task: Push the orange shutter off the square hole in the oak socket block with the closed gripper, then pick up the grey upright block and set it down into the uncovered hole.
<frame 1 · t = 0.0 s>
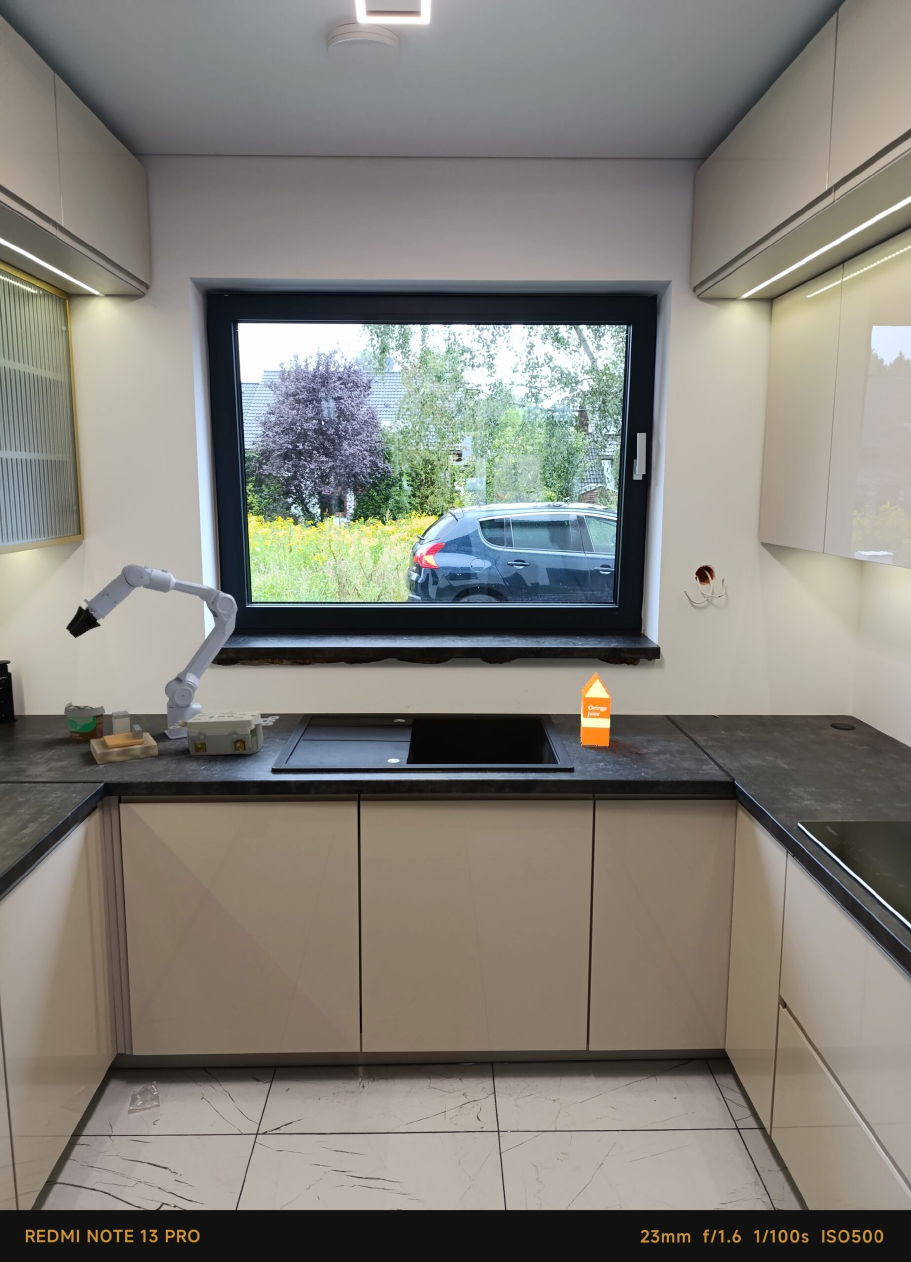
hand: (70, 633, 226), 32 cm above the worktop, fingers open, 7 cm apart
orange juice: (594, 743, 242), on the worktop
grey upright block: (122, 740, 239), on the worktop
food container: (81, 741, 238), on the worktop
socket block: (124, 752, 228), on the worktop
shutter: (123, 735, 227), point 5 cm above the worktop, slide at 0.0 cm
electrical outlet: (225, 751, 231), on the worktop
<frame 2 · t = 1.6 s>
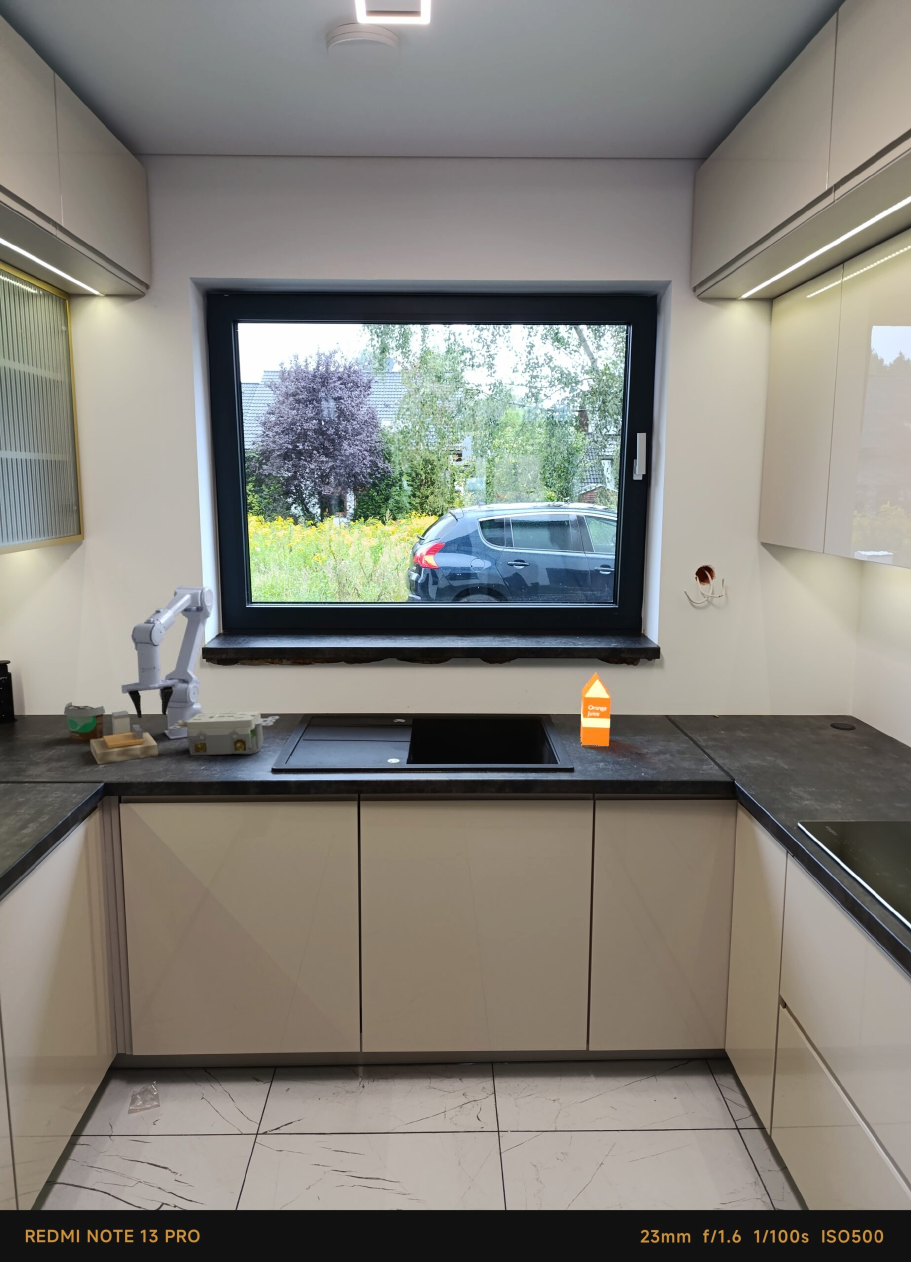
hand: (151, 715, 230), 9 cm above the worktop, fingers open, 6 cm apart
nothing on the worktop moved.
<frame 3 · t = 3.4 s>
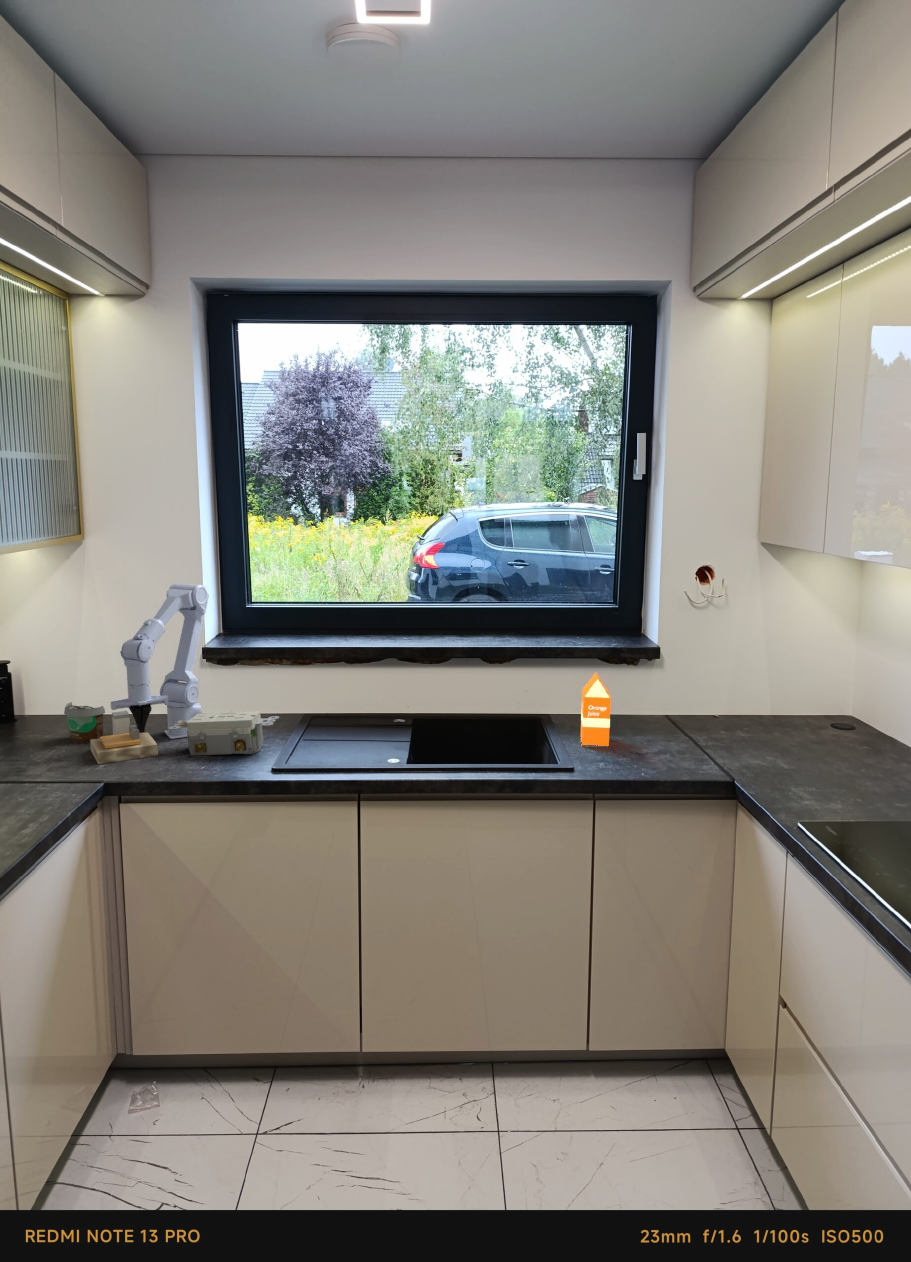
hand: (141, 731, 229), 5 cm above the worktop, fingers closed
shutter: (119, 735, 227), point 5 cm above the worktop, slide at 0.8 cm, touching gripper
everything else where it was.
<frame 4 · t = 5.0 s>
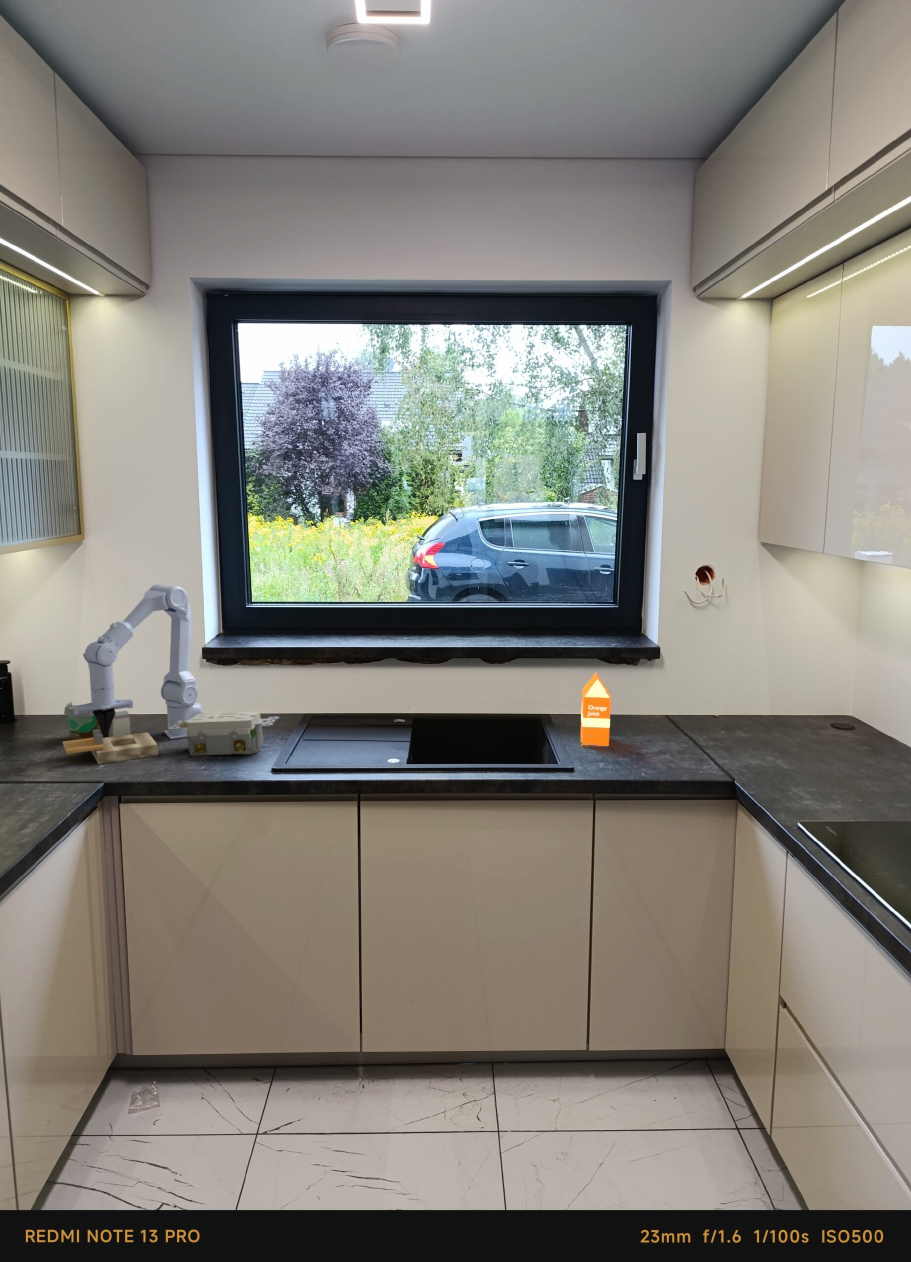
hand: (105, 736, 225), 5 cm above the worktop, fingers closed
shutter: (83, 740, 222), point 5 cm above the worktop, slide at 10.0 cm, touching gripper
everything else where it was.
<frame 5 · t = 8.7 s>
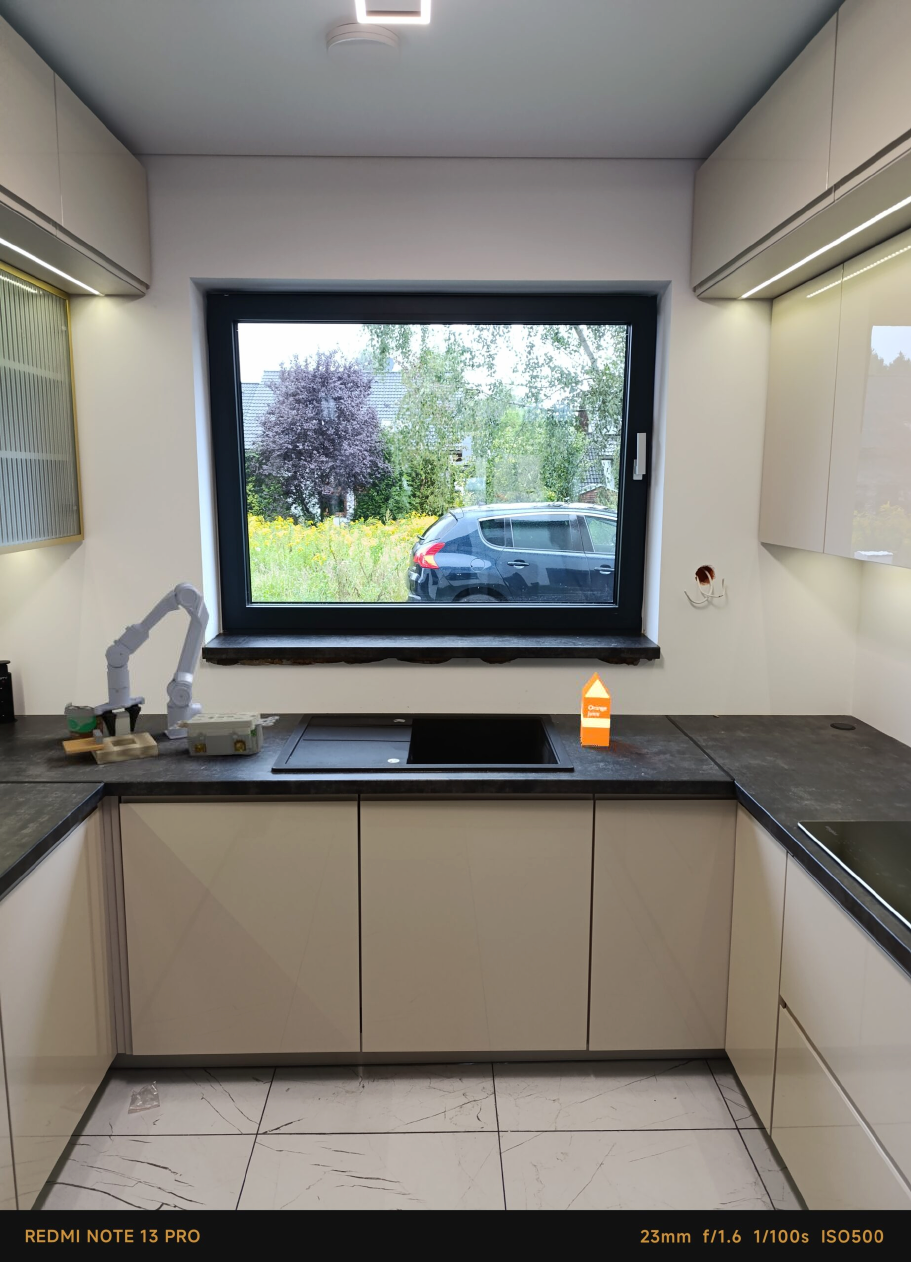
hand: (121, 733, 239), 2 cm above the worktop, fingers closed on grey upright block, 5 cm apart
grey upright block: (122, 740, 239), on the worktop, touching gripper
shutter: (83, 740, 222), point 5 cm above the worktop, slide at 10.0 cm
everything else where it was.
when the fingers open (4 cm above the worktop, at t = 12.3 s): grey upright block drops 2 cm, resting in socket block.
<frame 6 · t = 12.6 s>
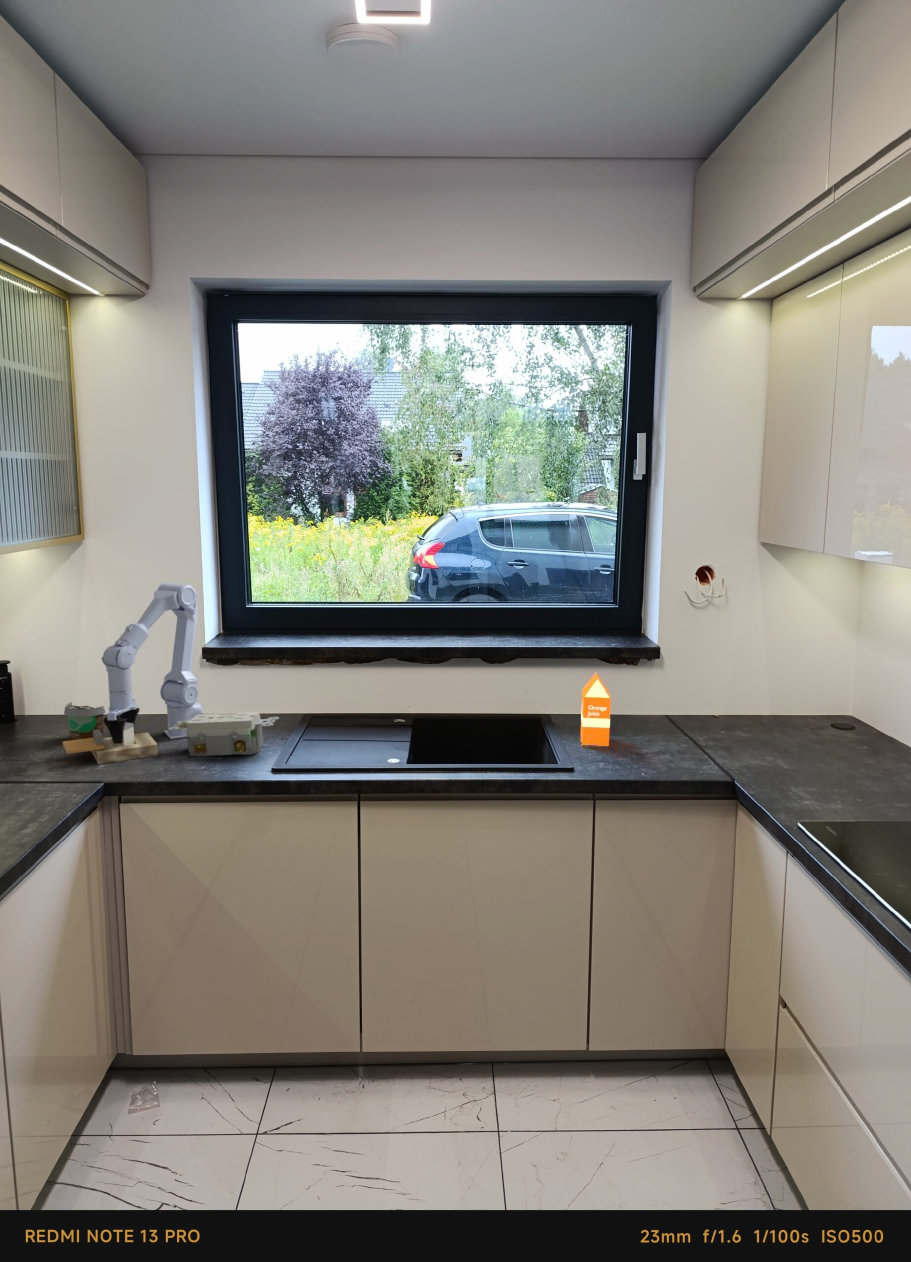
hand: (123, 739, 227), 4 cm above the worktop, fingers open, 7 cm apart
grey upright block: (123, 752, 228), resting in socket block
everything else where it was.
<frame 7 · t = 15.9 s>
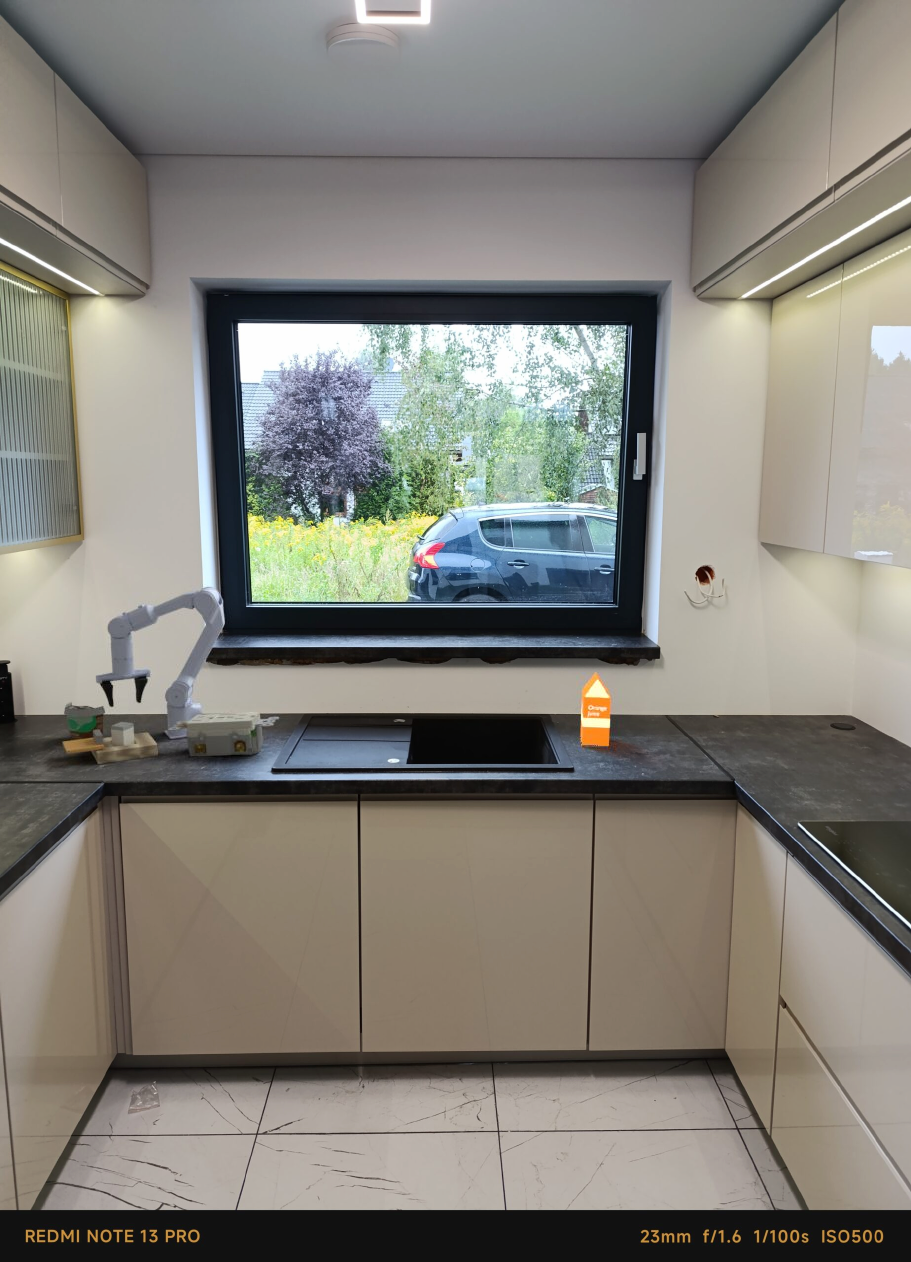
hand: (125, 704, 242), 9 cm above the worktop, fingers open, 7 cm apart
nothing on the worktop moved.
at the end: shutter slide at 10.0 cm; grey upright block 0.1 cm off-centre on the socket block, point 0.0 cm above the socket block's base; the gripper is holding nothing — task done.
